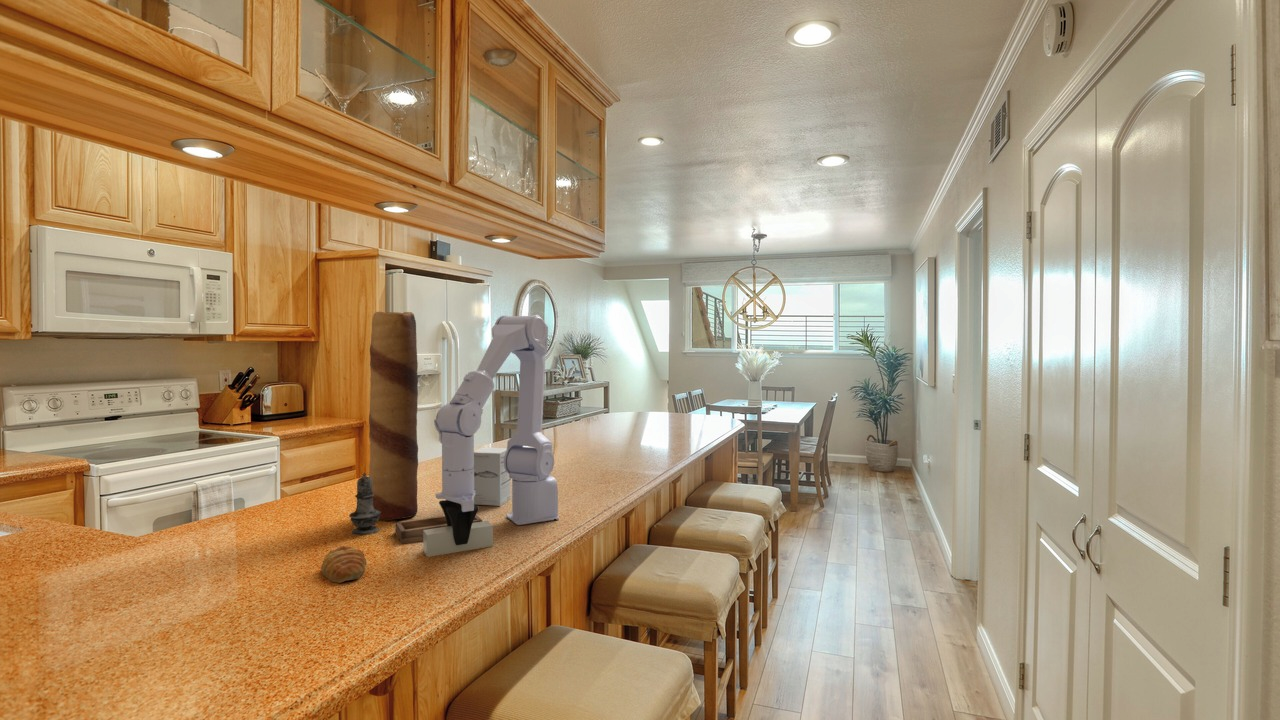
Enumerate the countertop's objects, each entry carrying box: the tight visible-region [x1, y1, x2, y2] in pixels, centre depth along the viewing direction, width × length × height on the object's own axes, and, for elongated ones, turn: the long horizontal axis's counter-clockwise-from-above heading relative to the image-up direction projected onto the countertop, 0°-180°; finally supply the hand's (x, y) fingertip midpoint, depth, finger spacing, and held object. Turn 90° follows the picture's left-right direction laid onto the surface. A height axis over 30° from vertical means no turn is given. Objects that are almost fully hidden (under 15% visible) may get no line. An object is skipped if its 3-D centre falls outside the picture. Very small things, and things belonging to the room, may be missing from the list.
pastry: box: [320, 545, 368, 584], centre depth 104 cm, size 9×7×4 cm
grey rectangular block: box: [422, 520, 494, 558], centre depth 117 cm, size 12×4×4 cm, turn 120°
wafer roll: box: [368, 311, 419, 521], centre depth 138 cm, size 10×11×45 cm
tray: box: [394, 514, 483, 545], centre depth 127 cm, size 16×8×2 cm, turn 120°
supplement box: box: [474, 447, 512, 507], centre depth 150 cm, size 7×7×13 cm
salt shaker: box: [348, 472, 381, 536], centre depth 127 cm, size 6×6×12 cm
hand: (458, 540), depth 117 cm, fingers closed on grey rectangular block, 3 cm apart
